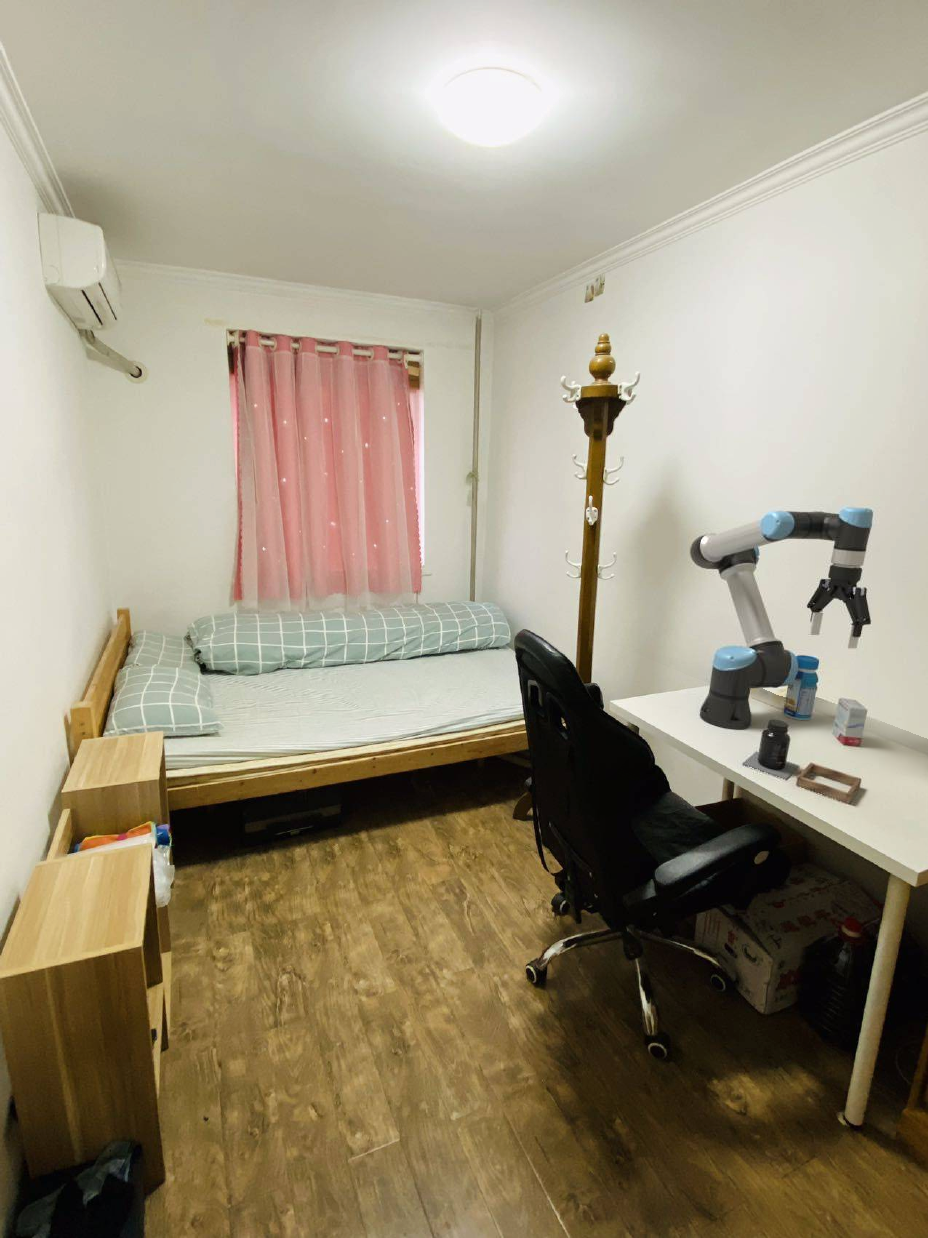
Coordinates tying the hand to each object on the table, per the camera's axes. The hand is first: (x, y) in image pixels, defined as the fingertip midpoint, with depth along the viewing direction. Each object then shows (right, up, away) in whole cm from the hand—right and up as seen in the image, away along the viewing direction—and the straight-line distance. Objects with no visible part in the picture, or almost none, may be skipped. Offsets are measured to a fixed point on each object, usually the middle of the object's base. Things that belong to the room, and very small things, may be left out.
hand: (831, 641), depth 168 cm
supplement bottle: (-20, -33, -6) cm, 39 cm away
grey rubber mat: (-20, -33, -6) cm, 39 cm away
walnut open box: (-11, -36, -16) cm, 41 cm away
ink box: (+12, -30, +13) cm, 35 cm away
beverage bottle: (+7, -26, +30) cm, 40 cm away
